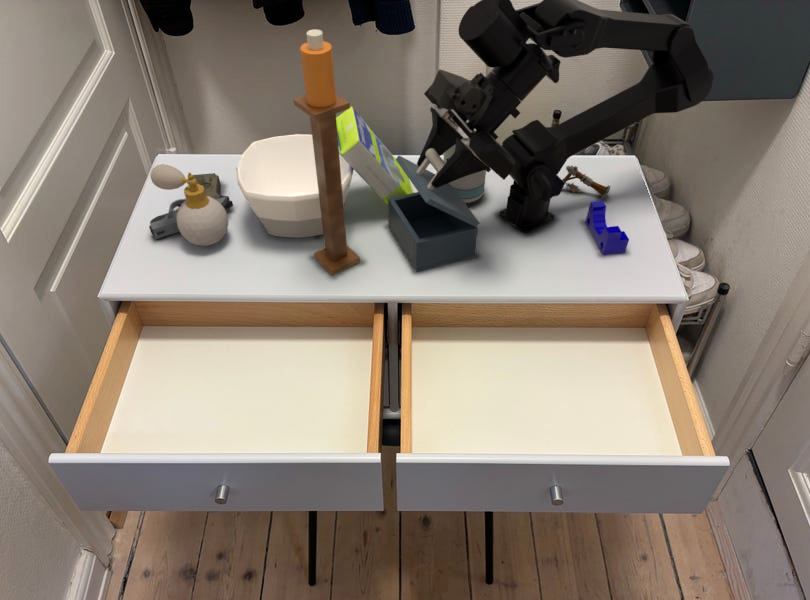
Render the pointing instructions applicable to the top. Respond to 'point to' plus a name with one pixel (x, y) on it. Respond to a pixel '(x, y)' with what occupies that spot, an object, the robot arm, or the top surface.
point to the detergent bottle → (318, 70)
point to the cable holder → (605, 230)
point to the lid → (440, 196)
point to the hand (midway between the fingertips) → (426, 175)
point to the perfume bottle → (193, 207)
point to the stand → (329, 184)
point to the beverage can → (467, 177)
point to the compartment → (429, 232)
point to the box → (370, 157)
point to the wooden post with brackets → (586, 180)
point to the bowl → (285, 184)
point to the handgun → (168, 221)
